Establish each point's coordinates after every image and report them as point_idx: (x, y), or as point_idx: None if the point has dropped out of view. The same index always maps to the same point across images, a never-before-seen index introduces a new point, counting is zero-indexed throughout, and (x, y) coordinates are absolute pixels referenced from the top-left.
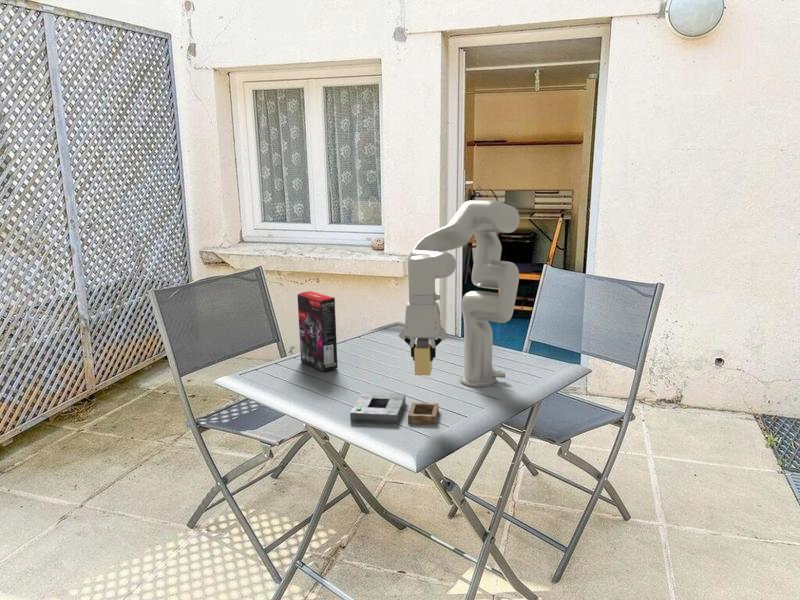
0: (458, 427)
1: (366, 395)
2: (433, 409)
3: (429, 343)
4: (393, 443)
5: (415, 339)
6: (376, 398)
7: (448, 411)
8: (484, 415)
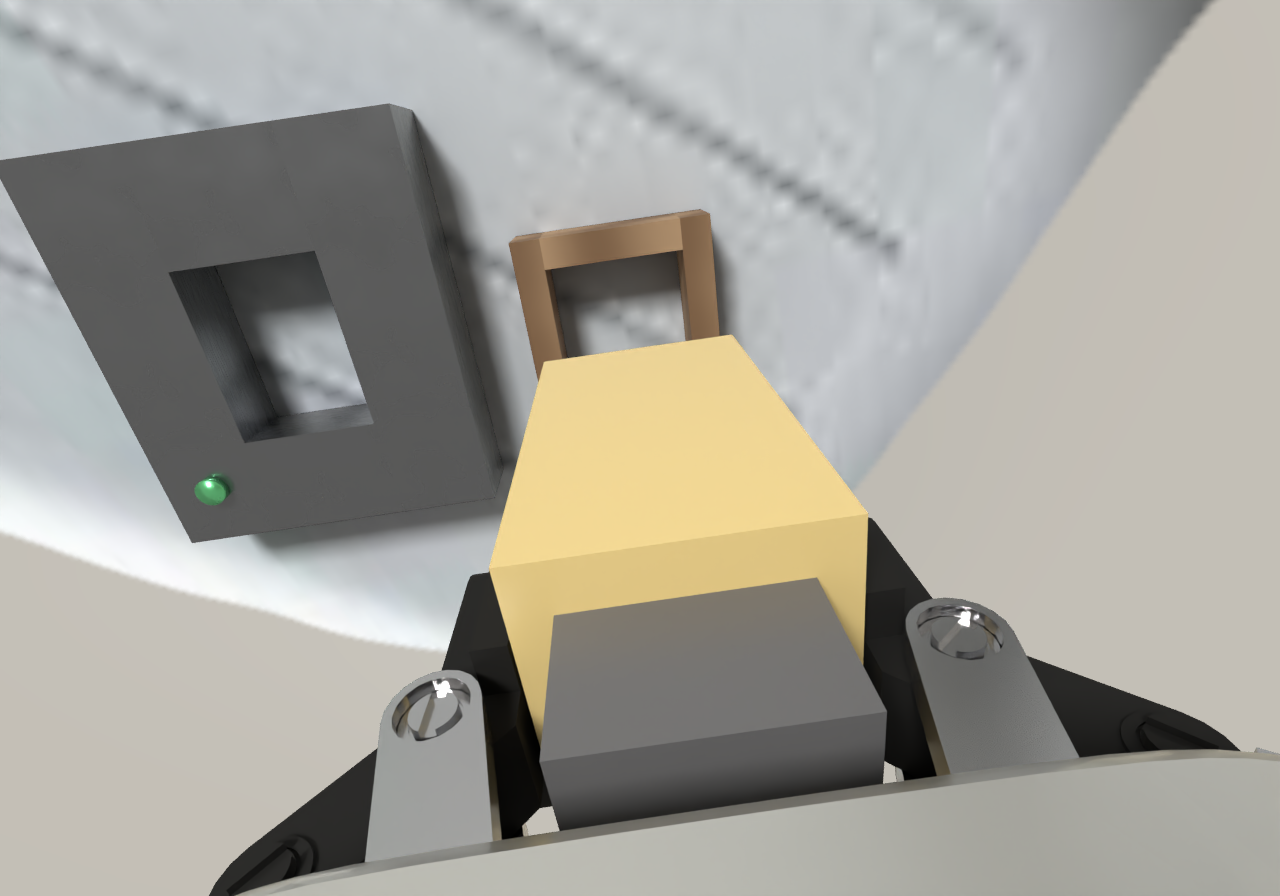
0: (852, 412)
1: (83, 227)
2: (694, 331)
3: (815, 570)
4: None
5: (499, 821)
6: (204, 265)
7: (768, 193)
8: (1014, 198)
